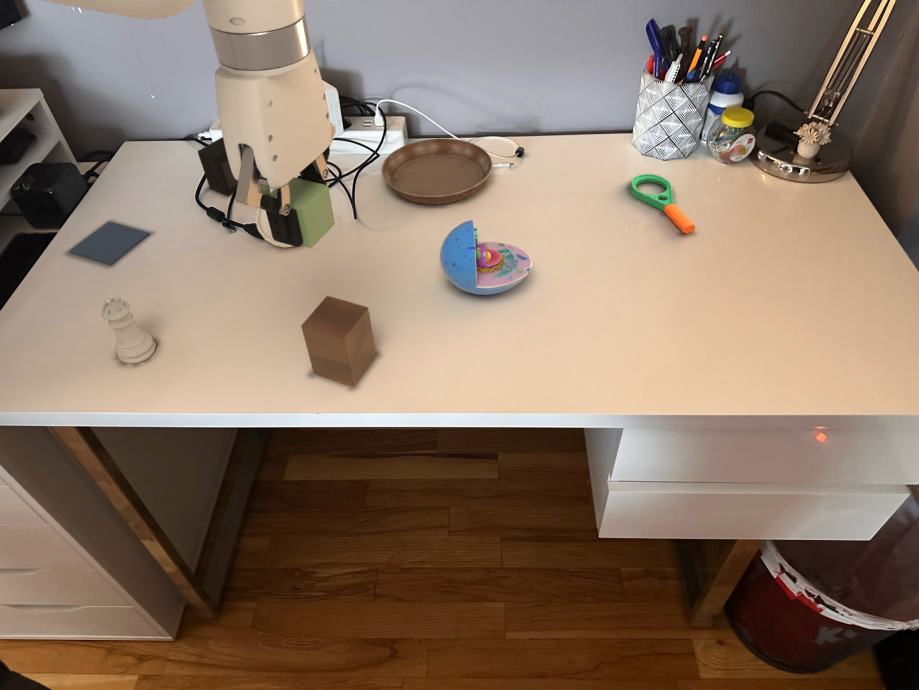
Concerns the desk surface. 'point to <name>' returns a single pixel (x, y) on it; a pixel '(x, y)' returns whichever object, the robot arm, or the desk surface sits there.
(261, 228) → the spotlight
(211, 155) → the digital camera
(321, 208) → the top block
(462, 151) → the plant saucer
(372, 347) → the base block
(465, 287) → the cell model
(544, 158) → the desk surface
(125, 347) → the rook chess piece
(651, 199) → the magnifying glass
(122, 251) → the coaster
